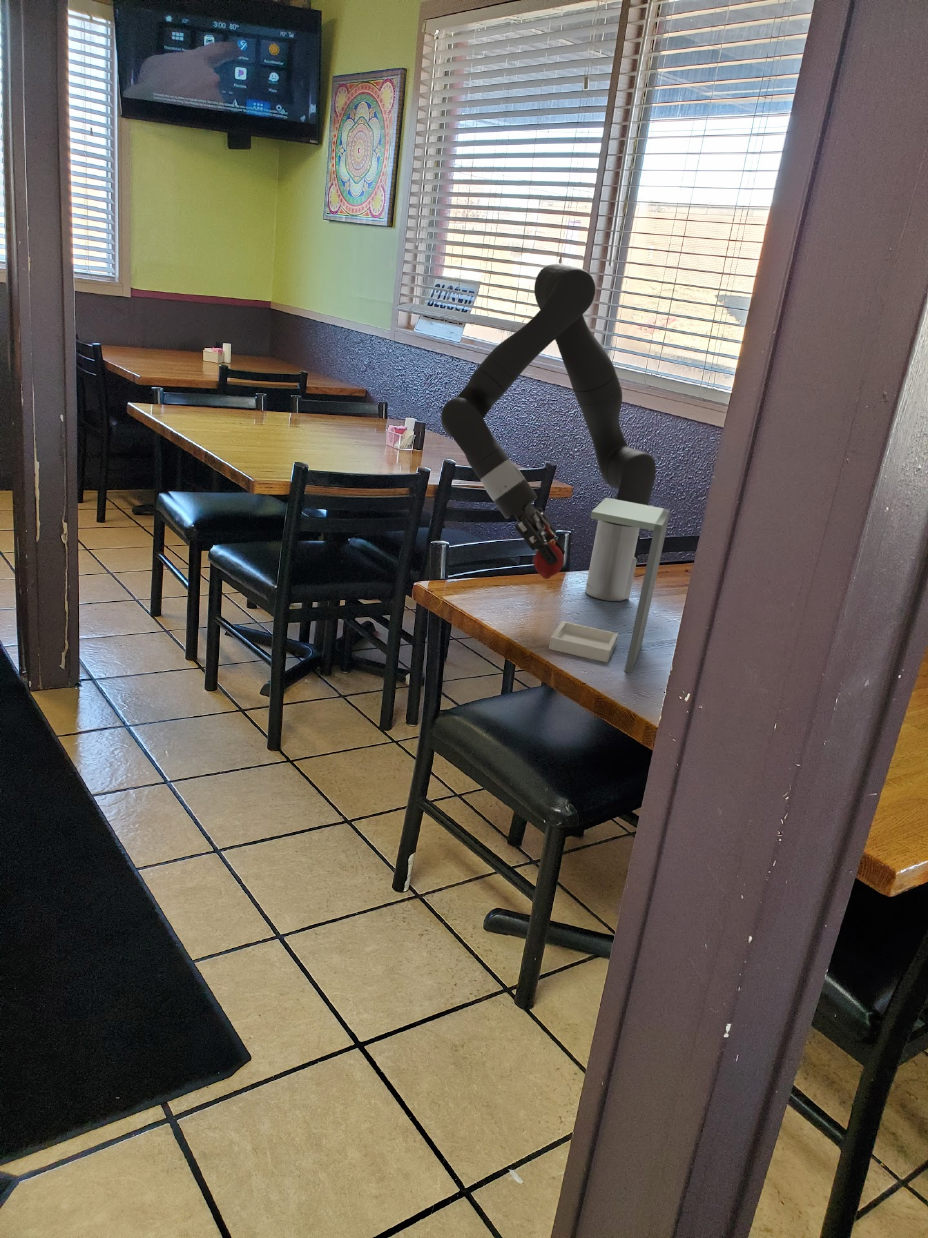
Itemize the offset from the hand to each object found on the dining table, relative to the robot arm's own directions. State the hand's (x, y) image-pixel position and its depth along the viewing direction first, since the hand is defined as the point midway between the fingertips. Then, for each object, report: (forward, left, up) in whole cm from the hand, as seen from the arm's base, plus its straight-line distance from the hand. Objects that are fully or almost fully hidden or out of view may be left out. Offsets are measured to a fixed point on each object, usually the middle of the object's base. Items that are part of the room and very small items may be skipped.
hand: (557, 559), depth 181 cm
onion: (+1, -1, -5) cm, 5 cm away
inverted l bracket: (-5, +15, -13) cm, 21 cm away
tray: (-2, +12, -13) cm, 18 cm away
